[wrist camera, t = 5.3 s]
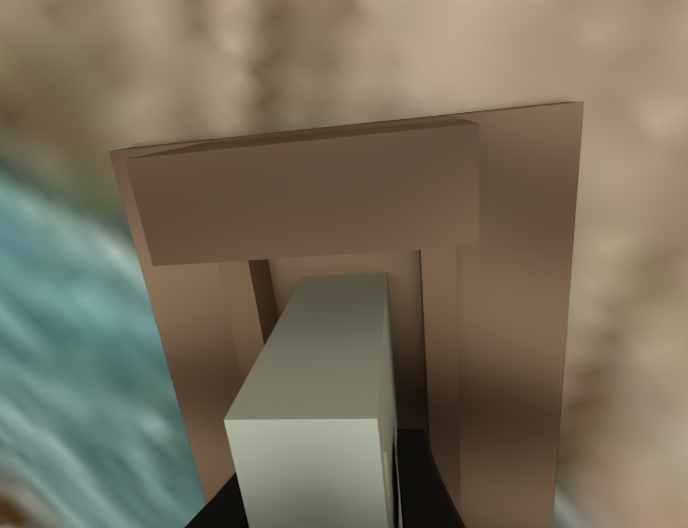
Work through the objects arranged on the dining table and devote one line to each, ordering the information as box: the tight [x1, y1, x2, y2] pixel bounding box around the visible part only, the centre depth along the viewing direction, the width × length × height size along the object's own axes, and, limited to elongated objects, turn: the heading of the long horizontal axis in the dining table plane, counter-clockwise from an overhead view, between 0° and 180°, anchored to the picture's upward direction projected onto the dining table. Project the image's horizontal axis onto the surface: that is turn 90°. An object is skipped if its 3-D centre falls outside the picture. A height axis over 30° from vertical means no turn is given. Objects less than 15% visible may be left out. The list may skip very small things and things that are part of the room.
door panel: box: [224, 272, 403, 528], centre depth 11 cm, size 8×2×6 cm, turn 6°
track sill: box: [109, 102, 584, 528], centre depth 12 cm, size 16×12×5 cm
